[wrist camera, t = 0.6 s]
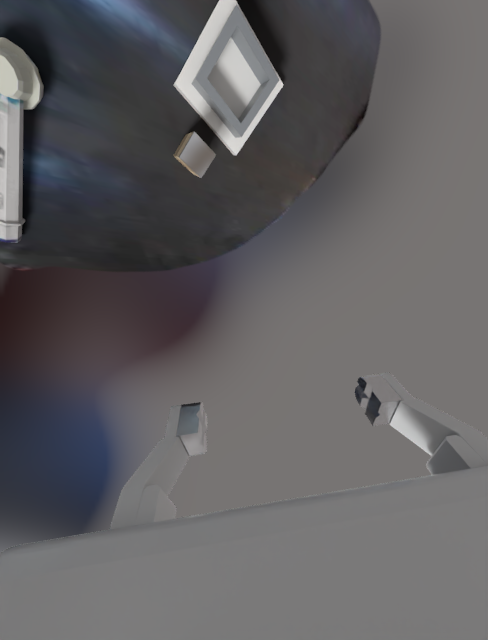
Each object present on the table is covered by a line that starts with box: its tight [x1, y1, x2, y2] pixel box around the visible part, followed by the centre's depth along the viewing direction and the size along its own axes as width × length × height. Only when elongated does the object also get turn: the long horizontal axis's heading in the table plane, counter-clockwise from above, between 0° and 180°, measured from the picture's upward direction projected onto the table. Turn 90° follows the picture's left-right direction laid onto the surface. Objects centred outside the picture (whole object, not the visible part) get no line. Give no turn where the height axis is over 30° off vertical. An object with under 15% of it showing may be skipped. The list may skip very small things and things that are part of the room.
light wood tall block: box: [174, 132, 216, 178], centre depth 36 cm, size 4×4×9 cm
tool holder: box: [174, 0, 283, 155], centre depth 34 cm, size 13×13×5 cm
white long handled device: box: [0, 38, 44, 243], centre depth 31 cm, size 5×7×25 cm
